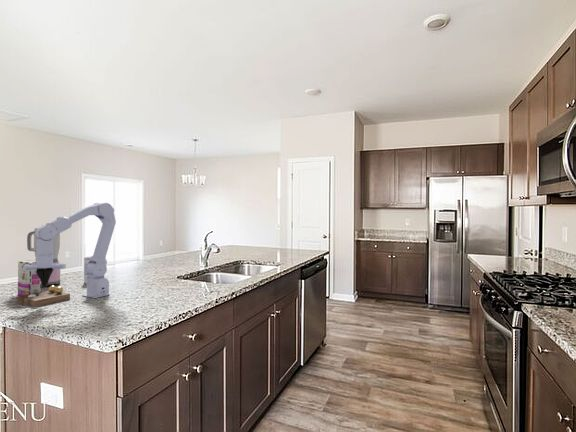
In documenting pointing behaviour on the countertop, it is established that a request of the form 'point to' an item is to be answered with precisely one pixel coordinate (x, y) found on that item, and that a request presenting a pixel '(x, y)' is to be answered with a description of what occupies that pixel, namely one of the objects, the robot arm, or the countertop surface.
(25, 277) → the candy bar box
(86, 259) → the syrup box
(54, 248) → the blender
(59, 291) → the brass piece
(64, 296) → the brown square tray
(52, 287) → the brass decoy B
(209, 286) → the countertop surface
